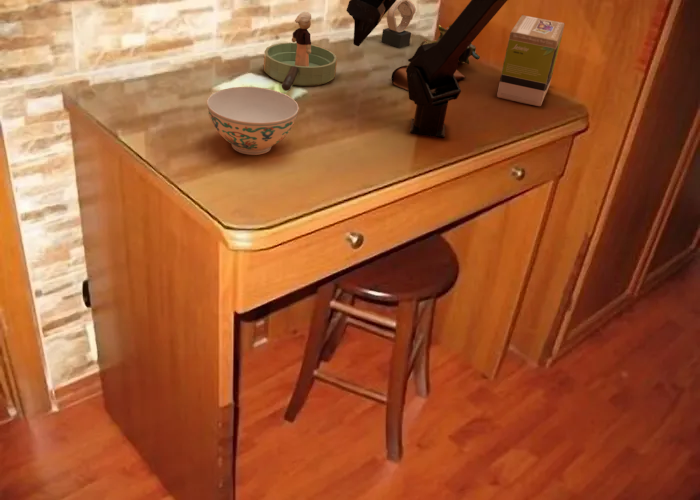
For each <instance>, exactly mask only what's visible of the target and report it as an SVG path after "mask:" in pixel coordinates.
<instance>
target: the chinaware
mask: <svg viewBox="0 0 700 500" xmlns="http://www.w3.org/2000/svg"><path fill="white" fill-rule="evenodd" d="M206 106H207V107H206V108H207V111H208V115H209V118H210V120H211V121H210V122H212V125H213V126H214V129H215V130H216V132H218V134H219V135H220V136H221V137H222V138H223V139H224V140H225V141H226V142H228V143H230V144H231V147H232V149H233V150H234V151H236V152H238V153H240V154H244V155H250V156H255V155H256V156H257V155H263V154H266V153H268V152H270V151H271V149H272V147H273V146H276V145H277V144H278V143H279V142H281V141H282V140H283V139H285V138H286V136H287V135H288V134H289V133H290V131H291V130H292V128H293V127H294V125H295V122H296V120H297V118H298V114H299V108H300V107H299V104H298V102H297V101H296V100H295V99H294V98H293V97H291V96H289V95H288V94H285V93H283V92H280V91H277V90H274V89H270V88H265V87H259V86H257V87H256V86H233V87H227V88H223V89H220V90H217V91H215V92H213V93H211V94H210V95H209V96H208V98H207V100H206Z"/></svg>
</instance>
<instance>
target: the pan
mask: <svg viewBox="0 0 700 500" xmlns="http://www.w3.org/2000/svg"><path fill="white" fill-rule="evenodd" d="M296 50H297V43H296V42H279V43H275V44H271V45H269V46H268V47H266V48H265V49H264V53H263V70H264V73H265V74H266V75H268V76H269V77H270V78H271V79H273V80H275V81H277V82H280V83H283V81H284V80H285V78H286V76H287V74H288V72H289V70H290V68H291V67H292V66H296V65H295V61H296ZM308 56H309V66H296V67H297V68H298V69H299V72H298V74H297V76H296V78H295V80H294V83H293V85H292V86H300V87H301V86H302V87H313V86H314V87H315V86H320V85H325V84H327V83H329V82H331V81H332V80H334V79H335V77H336V73H337V64H338V57H337V55H336V54H335V52H333V51H332V50H330V49H327V48H325V47H322V46H319V45H315V44H312V43H311V53H310V54H308Z"/></svg>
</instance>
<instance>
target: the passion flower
mask: <svg viewBox="0 0 700 500" xmlns="http://www.w3.org/2000/svg"><path fill="white" fill-rule="evenodd" d="M451 25H452V24H449V26H448V27H446V28H445V27H443V26H441V25H440V24H438V31H439V36H438V38H437V40H434V41H432V42H431V43H434V42H438V41H439V40H440V39H441V37H442V36H443V35H444V34H445V32H446V31H447V30H448V29H449V27H450V26H451ZM429 43H430V42H428V39H425V38H424V39H423V41H422V42H420V45H424V44H429ZM420 45H419V46H420ZM476 50H477V47H476V45H474V44H473V42H472V43H471V44H470V45H469V46H468V47H467V48H466V50H465V51H464V52H463V53H462V54H461V55H460V57H459V60H458V63H459V64H462V65H463V64H467V65H469V64H470V60H469V58H470V57H471V56H472V57H473V58H474V59H475V60H477V61H478V60H480V58H481V56H480V55H479V54H478V53H477V52H476Z"/></svg>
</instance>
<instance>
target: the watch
mask: <svg viewBox="0 0 700 500" xmlns="http://www.w3.org/2000/svg"><path fill="white" fill-rule="evenodd" d="M397 10H398V12H399V14H400V17H401V21H400V22H399V24H398V25H397V18H396V12H397ZM415 13H416V7H415V4H414V3H413V2H412V1H411V0H396V2H395V3H394V4H393V5H392V6H391V8H390V9H389V10H388V11H387V12H386V24H387V27H386V28H383V29H382V33H381V34H382V35H381V43H383V44H386V45H390V46H392V47H395V48H398V49H401V48H403V47H404V48H405V47H408V46H410V44H411V43H410V42H411V36H412V32H411V31H408V30H406V29H408V27H409V25H410V23H411V22H412V20H413V18H414V15H415Z"/></svg>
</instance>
